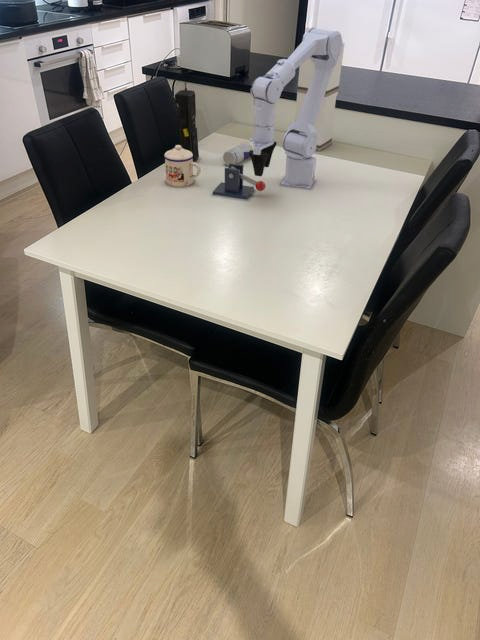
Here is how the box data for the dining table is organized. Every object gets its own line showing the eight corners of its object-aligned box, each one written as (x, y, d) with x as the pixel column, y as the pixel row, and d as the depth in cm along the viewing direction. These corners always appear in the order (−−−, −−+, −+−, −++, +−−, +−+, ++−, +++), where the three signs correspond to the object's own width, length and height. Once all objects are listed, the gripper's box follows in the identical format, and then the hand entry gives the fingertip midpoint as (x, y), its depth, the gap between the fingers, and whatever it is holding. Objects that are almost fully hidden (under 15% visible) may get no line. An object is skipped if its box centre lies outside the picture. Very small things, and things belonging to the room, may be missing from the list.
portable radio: (193, 165, 176) (191, 88, 161) (176, 164, 177) (173, 87, 161) (199, 158, 182) (197, 83, 167) (183, 156, 183) (180, 81, 168)
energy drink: (234, 168, 175) (252, 159, 183) (236, 153, 172) (254, 144, 180) (221, 164, 177) (240, 154, 185) (223, 149, 173) (242, 140, 182)
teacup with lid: (160, 184, 162) (157, 147, 155) (174, 174, 169) (172, 139, 162) (193, 191, 158) (192, 154, 151) (206, 181, 165) (206, 145, 158)
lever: (264, 190, 156) (267, 182, 154) (261, 194, 154) (265, 185, 152) (229, 173, 156) (233, 164, 154) (226, 176, 154) (230, 167, 152)
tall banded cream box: (331, 143, 198) (344, 43, 177) (319, 151, 191) (332, 47, 170) (304, 138, 203) (315, 39, 182) (292, 145, 196) (301, 43, 175)
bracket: (254, 190, 160) (255, 164, 155) (247, 200, 154) (247, 173, 149) (221, 185, 162) (221, 160, 157) (212, 195, 156) (212, 168, 151)
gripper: (257, 115, 150) (255, 161, 158) (243, 129, 139) (242, 177, 147) (280, 118, 148) (277, 164, 156) (268, 132, 137) (265, 181, 145)
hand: (261, 171), depth 151 cm, fingers open, 7 cm apart
